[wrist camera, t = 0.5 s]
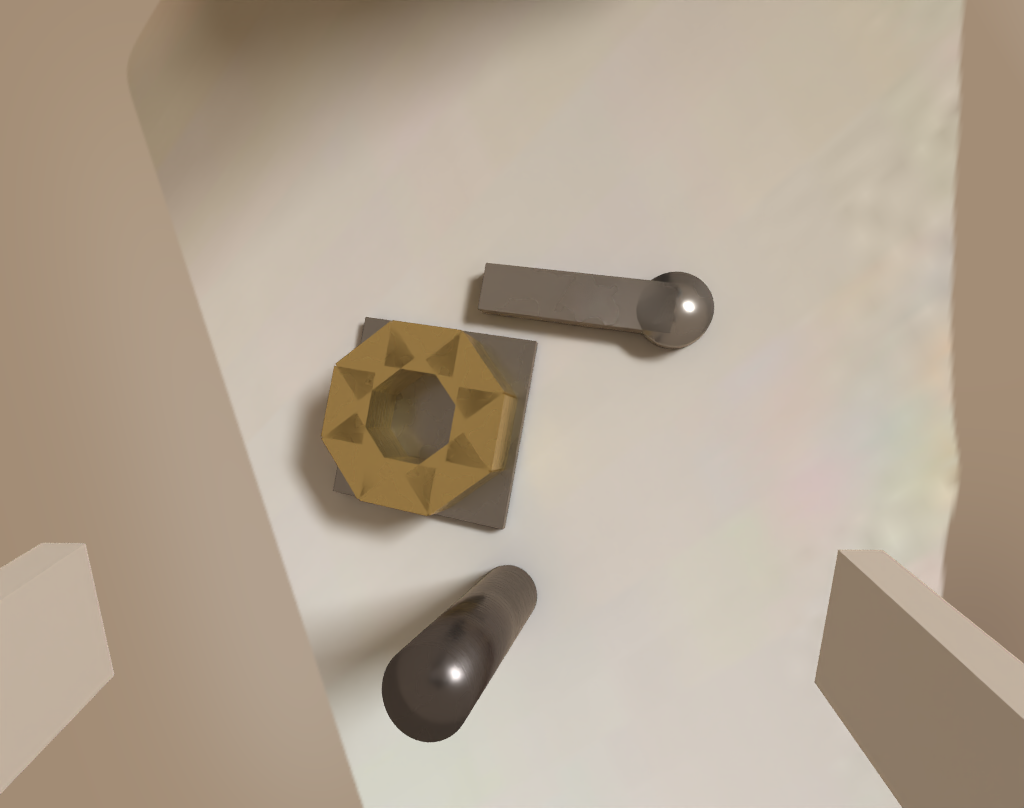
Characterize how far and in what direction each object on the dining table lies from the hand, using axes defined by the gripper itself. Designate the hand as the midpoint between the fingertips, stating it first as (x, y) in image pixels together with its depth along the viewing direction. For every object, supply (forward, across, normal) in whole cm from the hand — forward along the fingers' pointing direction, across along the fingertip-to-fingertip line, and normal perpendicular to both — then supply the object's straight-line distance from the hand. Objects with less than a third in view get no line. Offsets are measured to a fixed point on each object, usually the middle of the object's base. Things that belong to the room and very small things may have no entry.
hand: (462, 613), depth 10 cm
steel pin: (+22, +1, -14) cm, 26 cm away
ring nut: (+26, -4, -4) cm, 27 cm away
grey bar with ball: (+27, +6, +3) cm, 28 cm away
